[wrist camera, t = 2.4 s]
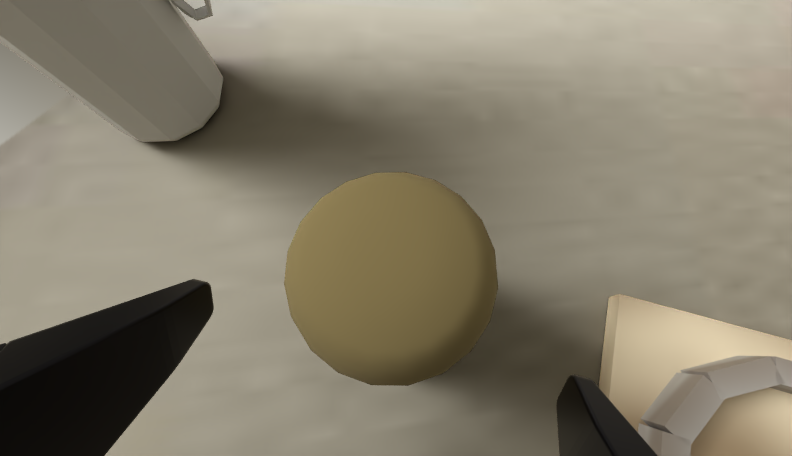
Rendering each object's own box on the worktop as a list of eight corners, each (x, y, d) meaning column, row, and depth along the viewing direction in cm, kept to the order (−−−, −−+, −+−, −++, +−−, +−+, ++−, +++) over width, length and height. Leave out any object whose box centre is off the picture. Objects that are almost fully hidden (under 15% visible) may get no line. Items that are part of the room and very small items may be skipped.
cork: (470, 261, 18) (541, 147, 8) (457, 386, 16) (528, 451, 6) (356, 244, 19) (284, 118, 9) (331, 364, 17) (201, 387, 7)
